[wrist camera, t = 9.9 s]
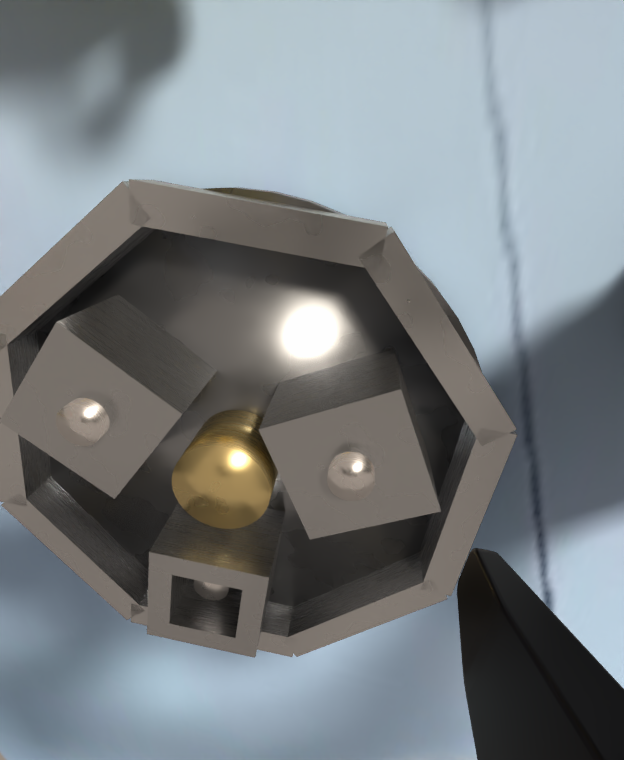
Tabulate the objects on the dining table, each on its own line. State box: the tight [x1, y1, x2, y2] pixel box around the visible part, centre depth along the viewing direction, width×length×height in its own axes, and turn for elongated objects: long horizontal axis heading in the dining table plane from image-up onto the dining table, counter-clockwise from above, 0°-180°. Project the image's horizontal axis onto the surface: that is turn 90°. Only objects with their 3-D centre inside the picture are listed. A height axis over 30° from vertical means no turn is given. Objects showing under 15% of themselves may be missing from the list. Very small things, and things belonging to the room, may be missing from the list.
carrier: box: [0, 179, 517, 657], centre depth 19 cm, size 22×22×6 cm
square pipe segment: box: [147, 502, 285, 657], centre depth 21 cm, size 5×5×4 cm
